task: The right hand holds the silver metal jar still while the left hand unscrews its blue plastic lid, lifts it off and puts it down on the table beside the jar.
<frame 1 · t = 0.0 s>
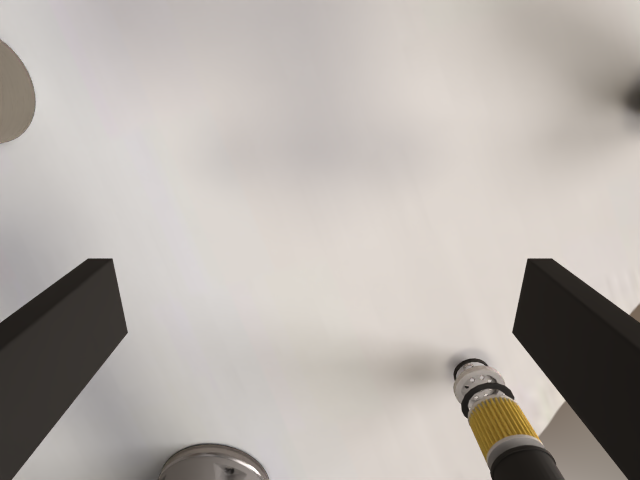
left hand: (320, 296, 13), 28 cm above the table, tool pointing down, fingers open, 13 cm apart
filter: (467, 365, 48), on the table
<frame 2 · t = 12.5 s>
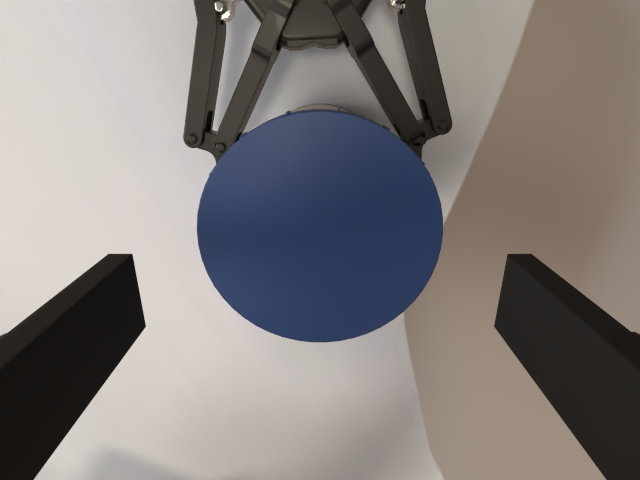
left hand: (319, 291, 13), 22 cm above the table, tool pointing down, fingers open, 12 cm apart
right hand: (322, 237, 30), fingers closed on jar, 10 cm apart
lid: (319, 236, 18), point 17 cm above the table, screwed on, not yet turned
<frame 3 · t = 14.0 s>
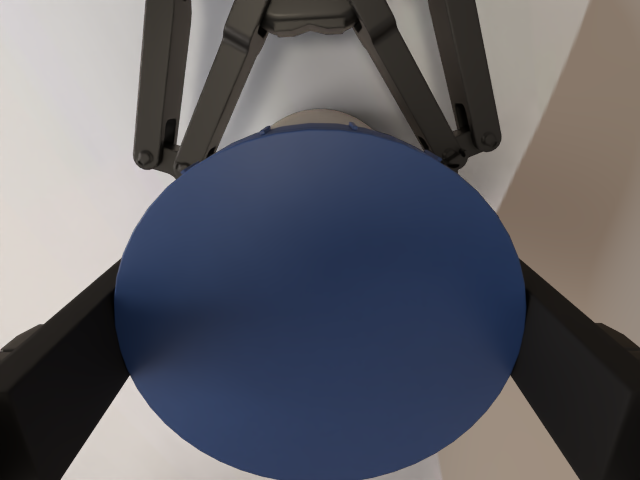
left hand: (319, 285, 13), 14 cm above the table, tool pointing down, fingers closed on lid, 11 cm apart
right hand: (323, 283, 23), fingers closed on jar, 10 cm apart
jar: (319, 187, 27), on the table, touching right hand
lid: (320, 331, 11), point 17 cm above the table, screwed on, not yet turned, touching left hand
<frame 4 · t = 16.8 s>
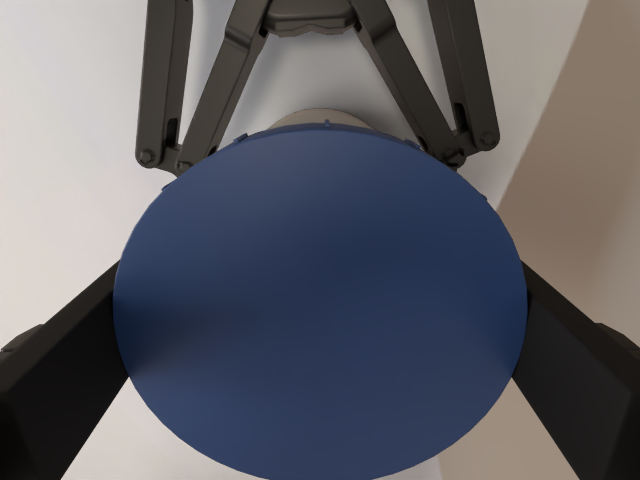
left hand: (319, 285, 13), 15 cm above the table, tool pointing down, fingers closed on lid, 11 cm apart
right hand: (323, 281, 23), fingers closed on jar, 10 cm apart
jar: (320, 186, 27), on the table, touching right hand
lid: (320, 333, 11), point 17 cm above the table, turned 74° so far, risen 0.3 cm, still on its thread, touching left hand
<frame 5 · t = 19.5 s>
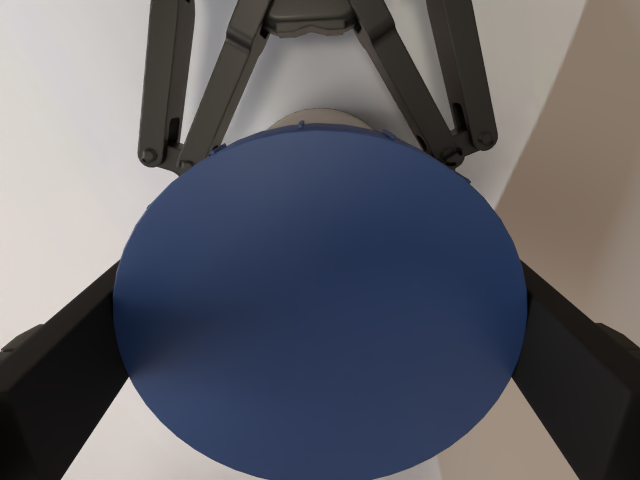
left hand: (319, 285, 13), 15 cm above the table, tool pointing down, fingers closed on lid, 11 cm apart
right hand: (323, 279, 23), fingers closed on jar, 10 cm apart
jar: (320, 185, 27), on the table, touching right hand
lid: (320, 333, 11), point 18 cm above the table, turned 148° so far, risen 0.5 cm, still on its thread, touching left hand
when the left hand's fingers open (0 cm above the table, at t = 25.9 s): lid drops 2 cm, point 1 cm above the table.
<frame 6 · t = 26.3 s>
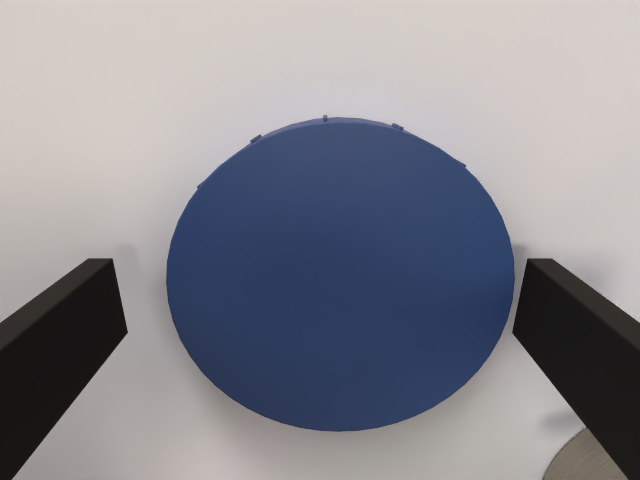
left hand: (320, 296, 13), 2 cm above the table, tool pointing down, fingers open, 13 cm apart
lid: (338, 295, 13), point 1 cm above the table, off its thread
when the right hand's fingers open (6 cm above the table, at t = 27.0 s): jar stays where it is, on the table.
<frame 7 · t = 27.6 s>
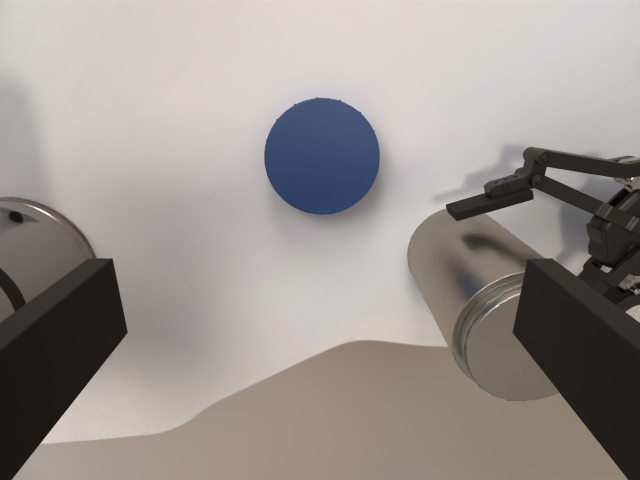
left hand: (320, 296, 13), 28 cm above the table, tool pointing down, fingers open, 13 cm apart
right hand: (464, 278, 37), fingers open, 13 cm apart
jar: (454, 252, 43), on the table
lid: (321, 158, 38), point 1 cm above the table, off its thread
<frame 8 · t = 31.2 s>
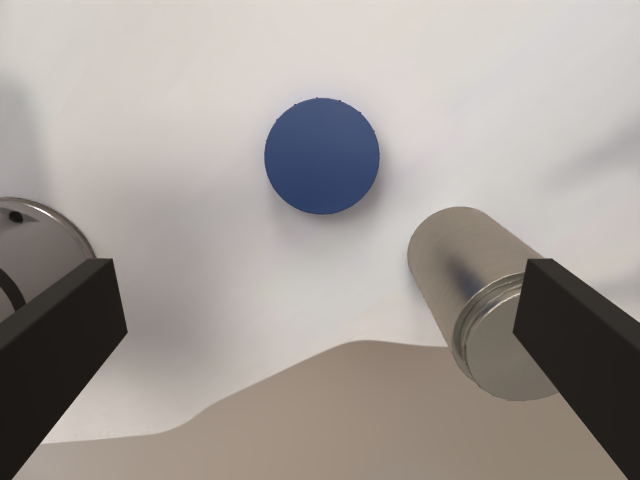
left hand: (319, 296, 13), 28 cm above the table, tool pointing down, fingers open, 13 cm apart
jar: (454, 252, 43), on the table
lid: (321, 158, 38), point 1 cm above the table, off its thread
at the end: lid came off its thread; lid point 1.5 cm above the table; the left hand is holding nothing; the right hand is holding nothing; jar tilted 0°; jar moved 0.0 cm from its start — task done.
